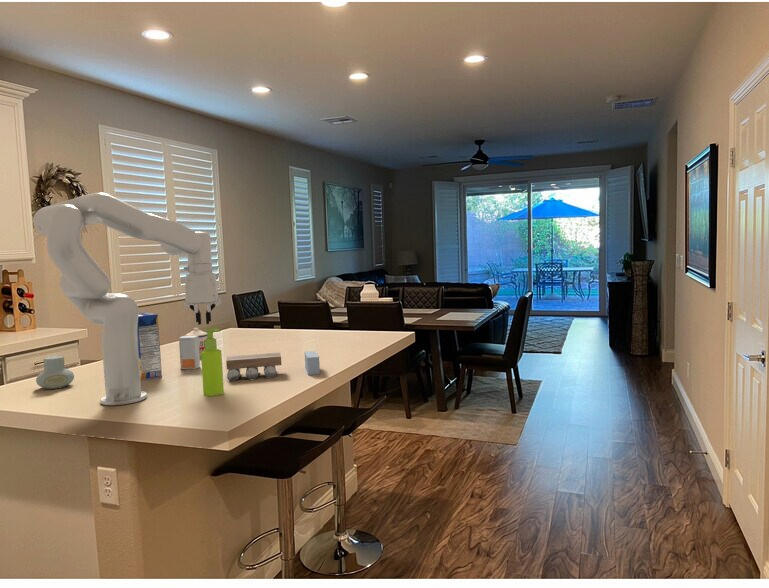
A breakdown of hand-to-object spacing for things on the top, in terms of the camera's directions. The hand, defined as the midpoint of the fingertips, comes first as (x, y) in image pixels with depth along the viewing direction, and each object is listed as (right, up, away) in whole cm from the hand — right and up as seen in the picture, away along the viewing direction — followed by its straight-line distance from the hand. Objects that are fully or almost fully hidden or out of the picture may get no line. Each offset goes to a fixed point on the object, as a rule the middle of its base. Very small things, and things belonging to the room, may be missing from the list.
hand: (203, 323), depth 187 cm
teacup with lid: (-17, -16, +50) cm, 55 cm away
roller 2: (+20, -18, +6) cm, 28 cm away
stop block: (+35, -17, +9) cm, 40 cm away
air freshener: (-49, -21, -1) cm, 53 cm away
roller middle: (+14, -18, +4) cm, 24 cm away
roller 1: (+8, -19, +3) cm, 21 cm away
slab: (+16, -15, +5) cm, 22 cm away
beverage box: (-24, -19, +11) cm, 33 cm away
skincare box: (-12, -18, +22) cm, 31 cm away
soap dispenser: (+9, -21, -18) cm, 29 cm away
